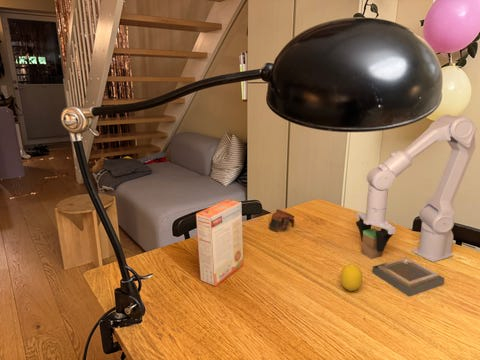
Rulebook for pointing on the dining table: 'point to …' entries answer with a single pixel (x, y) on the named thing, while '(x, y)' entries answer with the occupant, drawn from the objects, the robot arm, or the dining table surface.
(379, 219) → the robot arm
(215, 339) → the dining table surface
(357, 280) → the lemon
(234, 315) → the dining table surface
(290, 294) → the dining table surface
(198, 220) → the cracker box
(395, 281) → the gray square tray
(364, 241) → the brown and green block
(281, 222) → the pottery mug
